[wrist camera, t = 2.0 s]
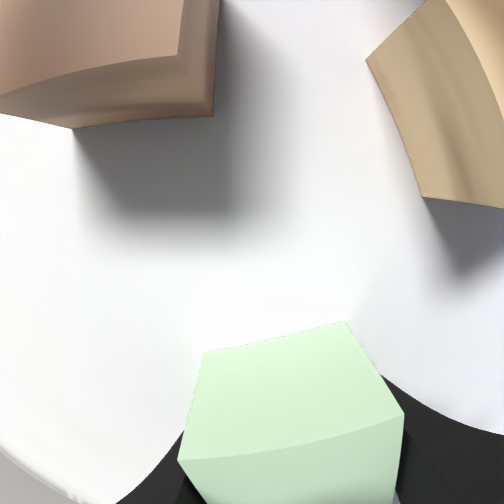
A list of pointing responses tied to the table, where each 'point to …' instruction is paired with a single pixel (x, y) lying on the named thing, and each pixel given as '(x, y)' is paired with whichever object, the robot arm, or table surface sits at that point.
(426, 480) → the robot arm
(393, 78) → the oak block
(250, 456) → the sage painted block
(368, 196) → the table surface
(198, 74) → the walnut block
